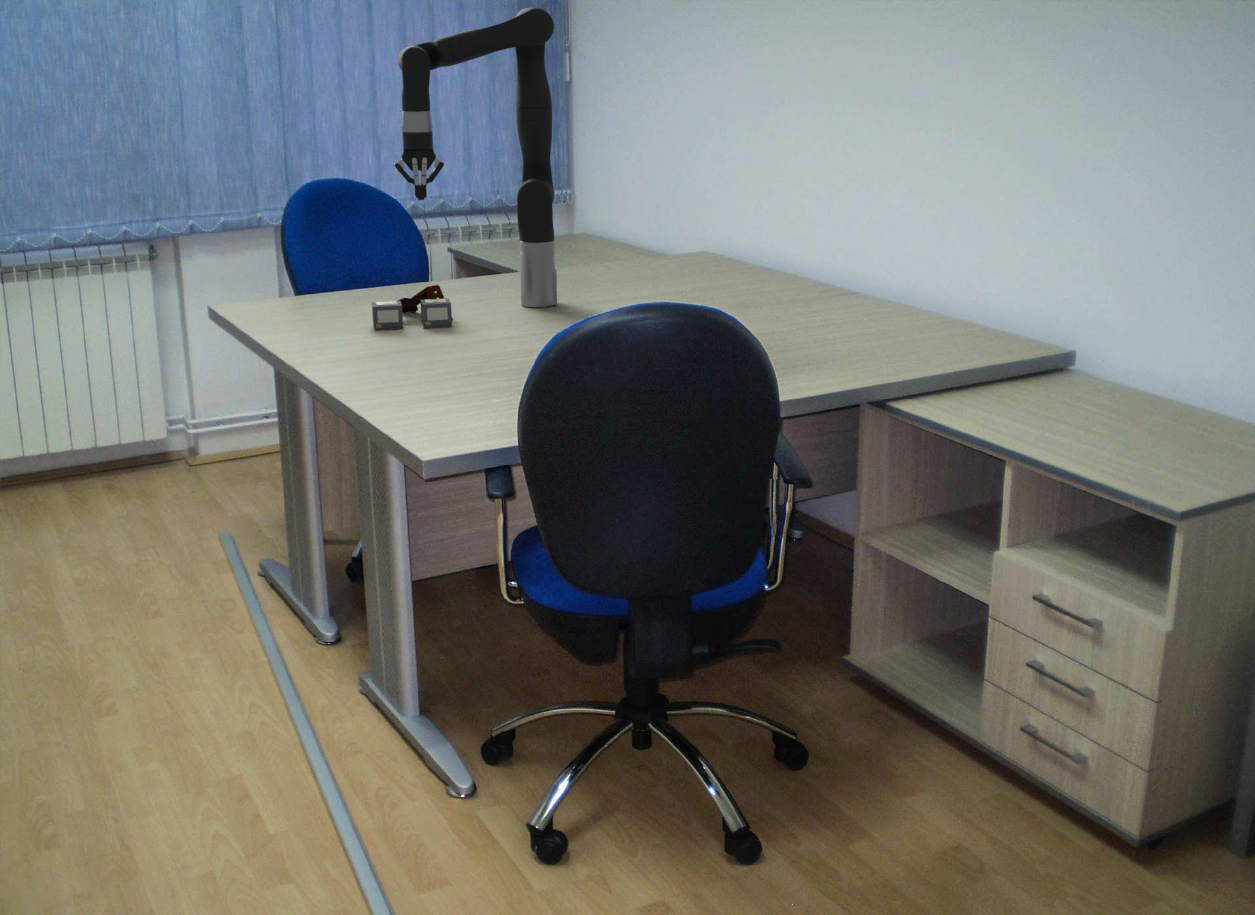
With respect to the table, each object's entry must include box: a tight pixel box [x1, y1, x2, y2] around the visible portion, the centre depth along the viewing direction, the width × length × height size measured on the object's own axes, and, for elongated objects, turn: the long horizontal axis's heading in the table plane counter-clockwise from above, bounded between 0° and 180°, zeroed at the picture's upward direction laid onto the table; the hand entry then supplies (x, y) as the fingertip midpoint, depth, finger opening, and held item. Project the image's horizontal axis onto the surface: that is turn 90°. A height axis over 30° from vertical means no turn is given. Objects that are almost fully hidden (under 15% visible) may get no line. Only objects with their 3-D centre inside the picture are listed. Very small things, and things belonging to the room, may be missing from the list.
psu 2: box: [420, 298, 453, 329], centre depth 317 cm, size 7×6×6 cm
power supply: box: [371, 300, 404, 332], centre depth 314 cm, size 7×6×6 cm
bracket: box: [397, 284, 454, 321], centre depth 325 cm, size 10×14×10 cm
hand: (420, 199), depth 324 cm, fingers closed
